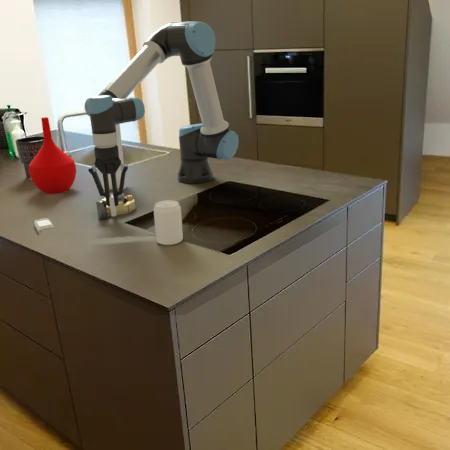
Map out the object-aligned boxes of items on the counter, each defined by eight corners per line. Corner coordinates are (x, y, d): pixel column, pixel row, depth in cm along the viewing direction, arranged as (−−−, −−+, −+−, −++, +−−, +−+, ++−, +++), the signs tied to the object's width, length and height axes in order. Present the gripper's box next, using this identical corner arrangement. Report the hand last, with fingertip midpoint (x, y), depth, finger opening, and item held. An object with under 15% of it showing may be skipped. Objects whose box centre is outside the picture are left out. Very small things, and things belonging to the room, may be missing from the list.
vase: (60, 182, 226) (49, 113, 215) (88, 188, 216) (78, 115, 205) (23, 193, 212) (10, 119, 201) (51, 200, 202) (39, 123, 191)
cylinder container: (121, 192, 209) (112, 116, 198) (99, 191, 211) (90, 117, 200) (129, 185, 217) (122, 113, 207) (108, 185, 219) (100, 113, 209)
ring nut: (109, 202, 191) (107, 187, 189) (140, 205, 188) (138, 189, 185) (84, 218, 176) (82, 201, 174) (117, 221, 172) (115, 204, 170)
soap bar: (39, 235, 168) (38, 227, 167) (34, 227, 176) (33, 219, 175) (55, 232, 170) (53, 224, 169) (49, 224, 178) (48, 216, 177)
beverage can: (156, 237, 162) (153, 200, 158) (182, 235, 163) (180, 198, 158) (155, 247, 155) (152, 209, 150) (183, 245, 155) (180, 207, 151)
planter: (15, 181, 230) (8, 141, 224) (36, 173, 241) (29, 135, 235) (39, 183, 226) (32, 142, 219) (58, 175, 237) (52, 136, 230)
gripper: (127, 142, 170) (134, 210, 178) (87, 144, 169) (96, 212, 178) (125, 146, 163) (132, 217, 171) (83, 149, 162) (92, 219, 171)
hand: (114, 214), depth 175 cm, fingers closed
